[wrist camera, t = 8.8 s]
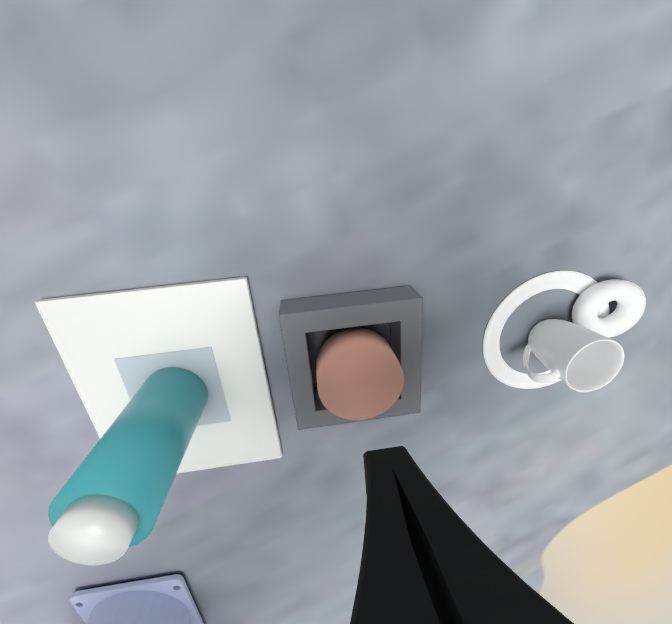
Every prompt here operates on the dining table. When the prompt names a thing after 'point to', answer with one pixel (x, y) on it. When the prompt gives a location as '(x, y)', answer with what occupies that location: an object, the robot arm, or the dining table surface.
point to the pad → (173, 360)
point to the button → (358, 374)
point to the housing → (343, 313)
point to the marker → (128, 471)
